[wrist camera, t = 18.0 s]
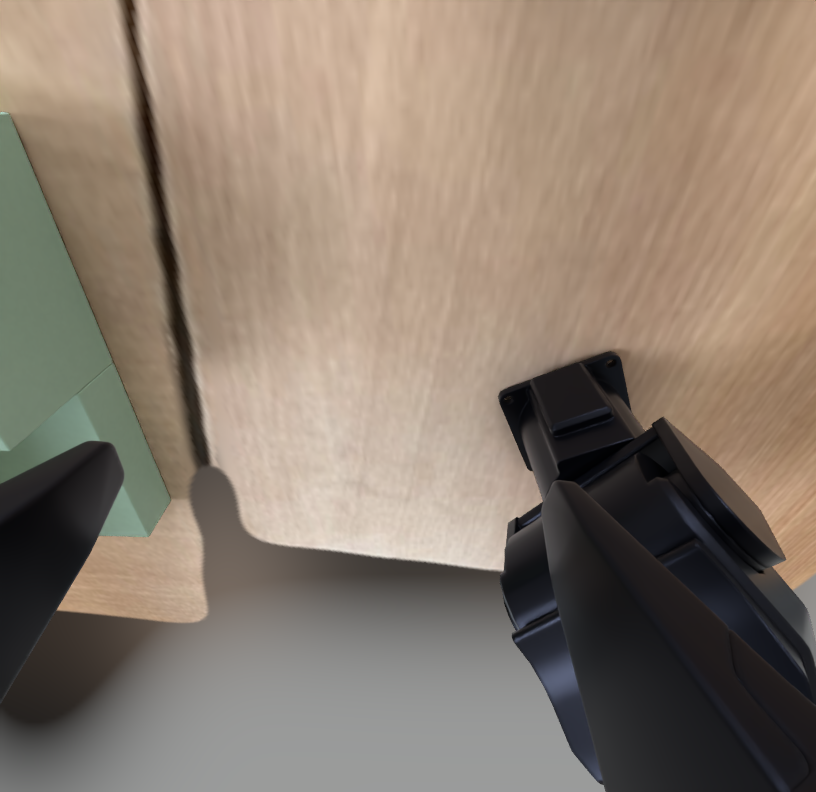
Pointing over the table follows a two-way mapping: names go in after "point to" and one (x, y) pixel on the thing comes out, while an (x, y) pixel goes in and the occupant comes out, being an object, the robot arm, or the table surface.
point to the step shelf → (59, 355)
